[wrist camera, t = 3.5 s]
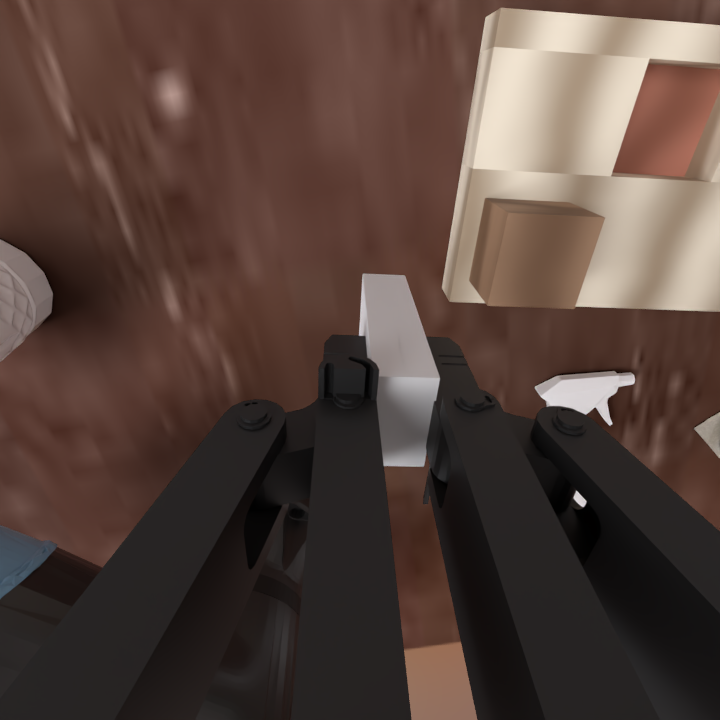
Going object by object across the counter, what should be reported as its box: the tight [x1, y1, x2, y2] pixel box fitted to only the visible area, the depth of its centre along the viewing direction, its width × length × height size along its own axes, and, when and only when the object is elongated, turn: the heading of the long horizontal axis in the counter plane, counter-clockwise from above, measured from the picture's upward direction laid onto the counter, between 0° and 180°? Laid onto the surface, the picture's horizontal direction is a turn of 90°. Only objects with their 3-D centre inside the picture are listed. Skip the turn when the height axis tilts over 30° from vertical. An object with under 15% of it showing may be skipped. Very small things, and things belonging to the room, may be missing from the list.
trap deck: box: [442, 8, 720, 312], centre depth 26 cm, size 30×15×2 cm, turn 87°
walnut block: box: [469, 198, 605, 309], centre depth 24 cm, size 5×5×4 cm
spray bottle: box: [535, 371, 635, 507], centre depth 40 cm, size 3×11×24 cm
